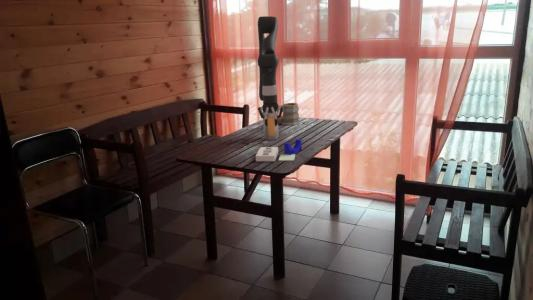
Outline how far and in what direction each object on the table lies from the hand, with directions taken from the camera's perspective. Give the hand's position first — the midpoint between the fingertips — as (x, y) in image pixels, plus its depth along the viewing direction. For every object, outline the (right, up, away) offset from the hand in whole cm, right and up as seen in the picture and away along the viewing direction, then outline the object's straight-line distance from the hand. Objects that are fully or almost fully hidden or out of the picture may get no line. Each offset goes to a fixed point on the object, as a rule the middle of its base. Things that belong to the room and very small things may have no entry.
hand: (271, 125), depth 233 cm
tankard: (+11, +6, +79) cm, 80 cm away
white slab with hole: (-2, -16, +7) cm, 18 cm away
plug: (0, -5, +1) cm, 5 cm away
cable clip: (+13, -14, +11) cm, 22 cm away
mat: (+8, -17, +2) cm, 19 cm away
